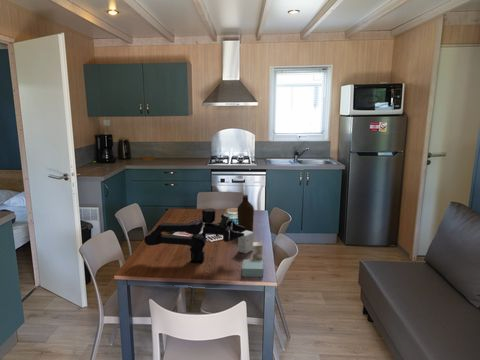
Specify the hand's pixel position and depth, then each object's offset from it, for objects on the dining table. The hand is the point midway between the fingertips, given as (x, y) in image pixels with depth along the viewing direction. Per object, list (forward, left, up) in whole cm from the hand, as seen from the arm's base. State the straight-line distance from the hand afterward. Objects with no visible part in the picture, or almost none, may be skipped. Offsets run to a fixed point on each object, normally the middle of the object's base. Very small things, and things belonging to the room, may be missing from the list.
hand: (244, 231), depth 176 cm
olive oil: (-2, +45, -17) cm, 48 cm away
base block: (+5, -12, -17) cm, 21 cm away
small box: (0, +15, -17) cm, 23 cm away
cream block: (+7, 0, -17) cm, 18 cm away
